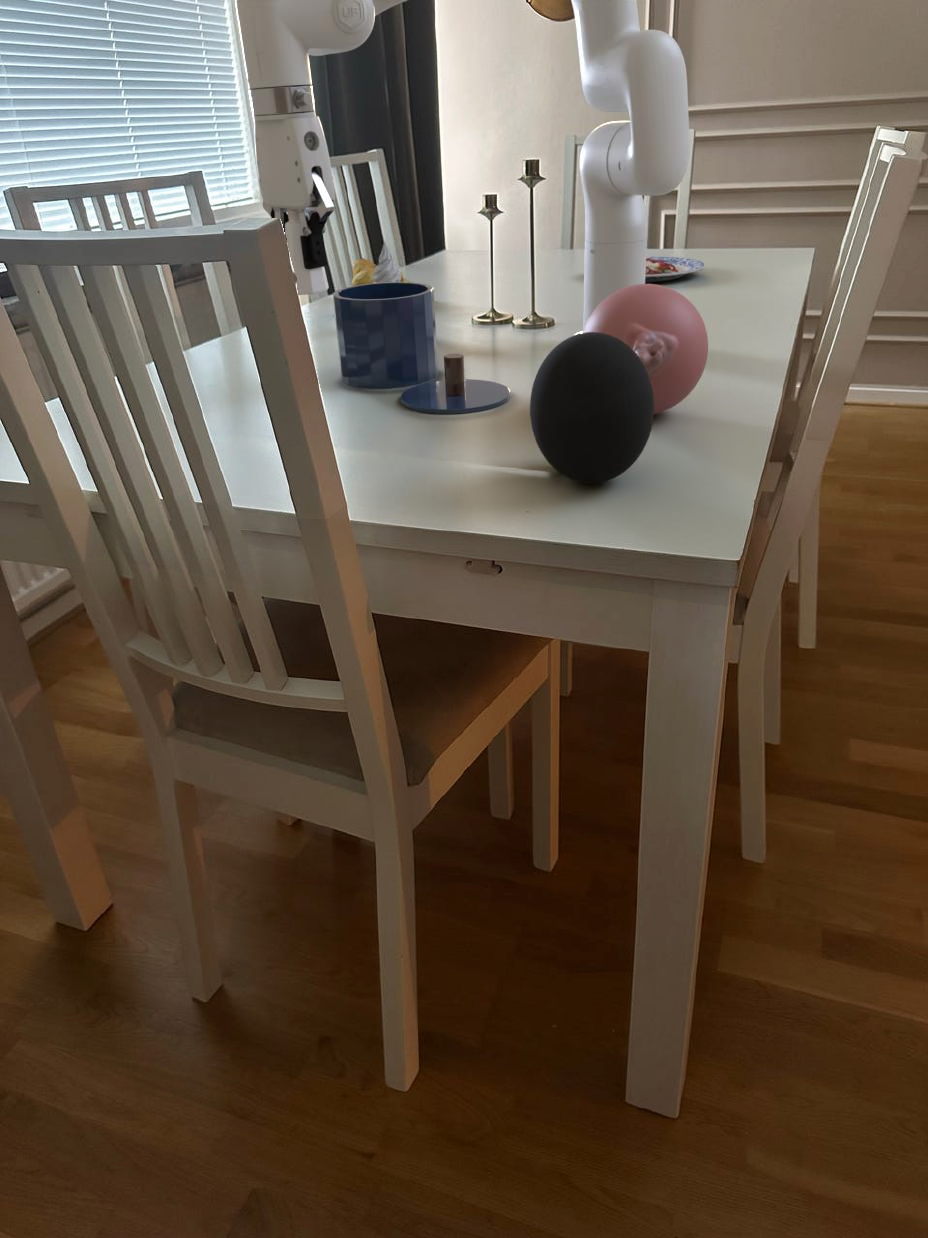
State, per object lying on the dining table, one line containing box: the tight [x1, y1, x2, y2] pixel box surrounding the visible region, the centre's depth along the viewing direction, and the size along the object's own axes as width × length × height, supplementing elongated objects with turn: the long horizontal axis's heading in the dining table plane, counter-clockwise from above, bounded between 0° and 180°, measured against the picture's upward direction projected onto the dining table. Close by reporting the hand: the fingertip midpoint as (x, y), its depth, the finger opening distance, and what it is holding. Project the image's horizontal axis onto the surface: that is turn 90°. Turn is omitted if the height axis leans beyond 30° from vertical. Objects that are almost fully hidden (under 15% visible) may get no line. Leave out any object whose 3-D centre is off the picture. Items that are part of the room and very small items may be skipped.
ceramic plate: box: [645, 255, 706, 283], centre depth 203 cm, size 26×26×3 cm
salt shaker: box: [285, 208, 330, 296], centre depth 119 cm, size 5×5×11 cm
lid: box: [400, 352, 511, 415], centre depth 123 cm, size 15×15×6 cm
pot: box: [332, 281, 439, 390], centre depth 133 cm, size 14×14×12 cm
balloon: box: [582, 283, 709, 415], centre depth 111 cm, size 15×20×15 cm
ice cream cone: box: [373, 240, 402, 283], centre depth 162 cm, size 5×5×15 cm
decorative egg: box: [529, 332, 655, 484], centre depth 93 cm, size 12×12×15 cm
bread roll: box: [350, 257, 410, 287], centre depth 190 cm, size 13×10×8 cm
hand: (305, 264), depth 120 cm, fingers closed on salt shaker, 3 cm apart
